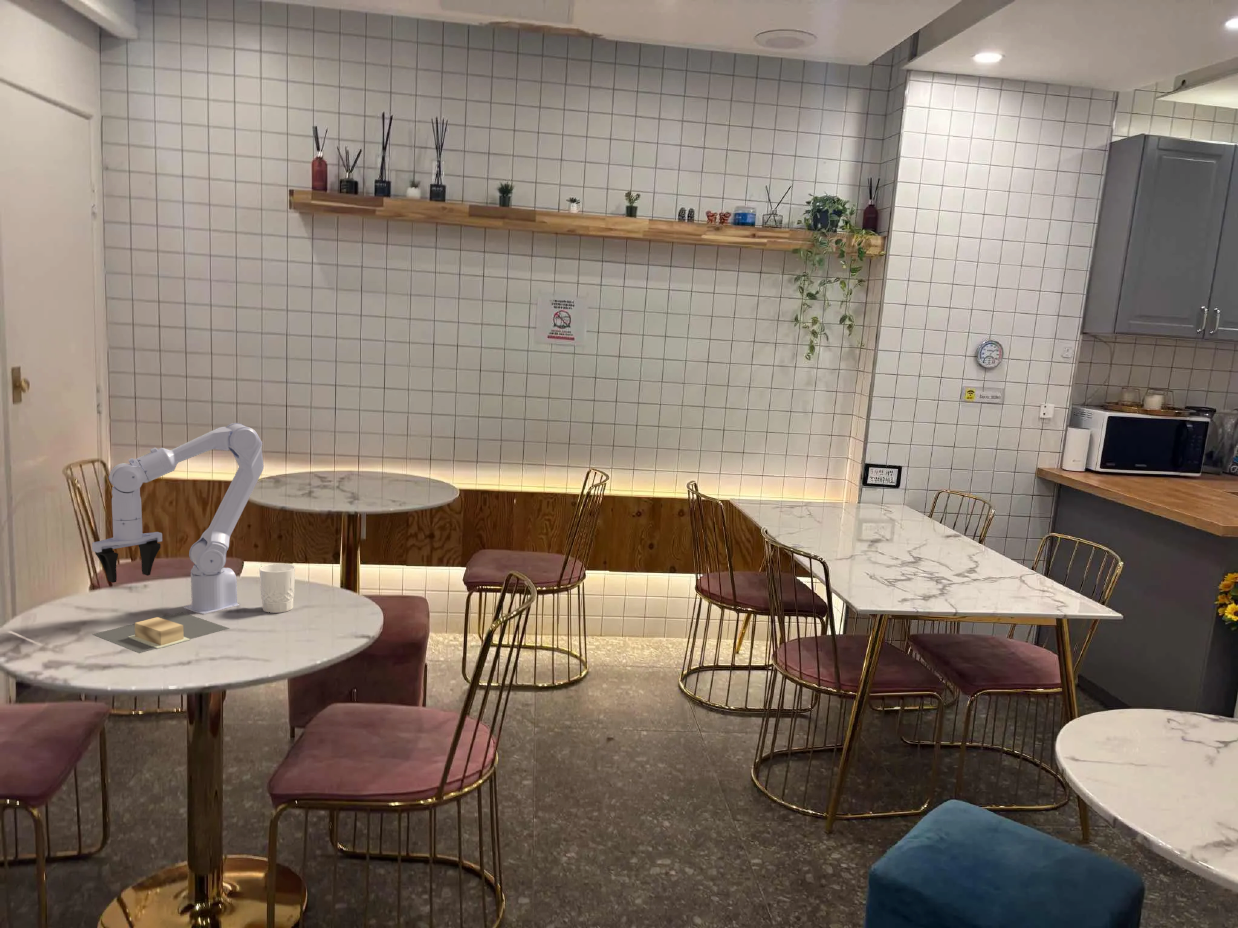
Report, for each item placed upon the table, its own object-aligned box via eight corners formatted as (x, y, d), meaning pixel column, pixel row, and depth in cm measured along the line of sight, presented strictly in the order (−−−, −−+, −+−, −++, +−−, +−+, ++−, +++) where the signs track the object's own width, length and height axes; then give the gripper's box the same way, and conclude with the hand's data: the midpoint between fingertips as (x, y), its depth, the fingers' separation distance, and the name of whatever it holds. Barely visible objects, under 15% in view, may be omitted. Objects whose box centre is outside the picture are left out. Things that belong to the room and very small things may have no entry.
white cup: (258, 614, 210) (257, 572, 208) (261, 604, 217) (261, 564, 216) (294, 613, 212) (293, 571, 210) (296, 603, 219) (296, 563, 218)
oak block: (183, 638, 190) (183, 625, 190) (161, 645, 186) (160, 631, 185) (157, 630, 195) (157, 616, 194) (135, 636, 190) (134, 622, 190)
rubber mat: (182, 613, 208) (182, 611, 208) (231, 630, 198) (231, 627, 198) (92, 635, 191) (92, 633, 191) (140, 655, 181) (140, 652, 181)
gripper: (149, 511, 208) (151, 568, 210) (83, 520, 196) (86, 581, 198) (166, 515, 204) (168, 573, 206) (101, 525, 192) (103, 587, 194)
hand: (129, 578), depth 202 cm, fingers open, 7 cm apart
